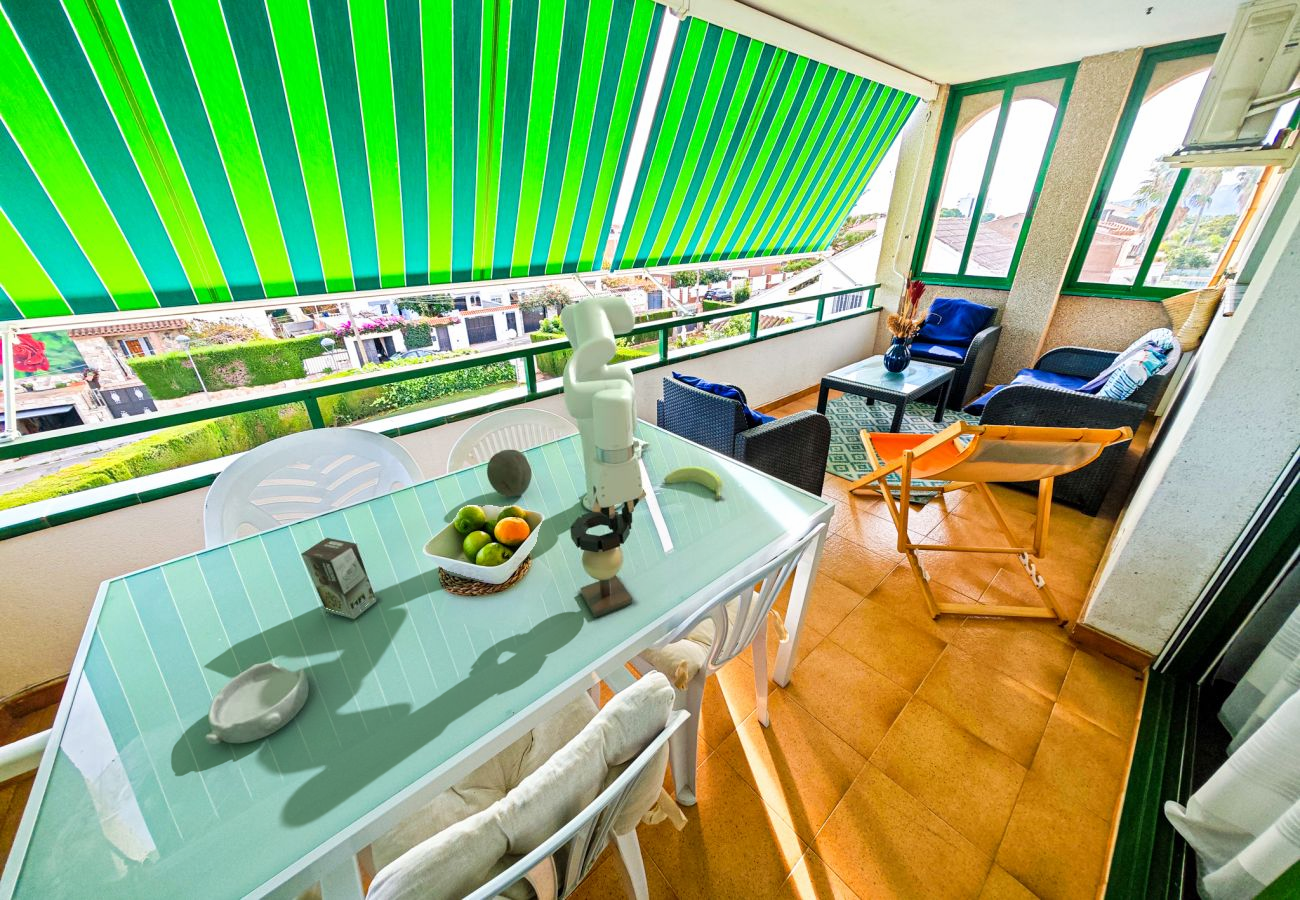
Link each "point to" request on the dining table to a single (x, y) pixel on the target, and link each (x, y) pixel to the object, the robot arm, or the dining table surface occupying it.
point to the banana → (696, 477)
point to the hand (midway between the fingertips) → (620, 527)
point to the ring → (595, 541)
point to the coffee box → (339, 577)
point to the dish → (256, 703)
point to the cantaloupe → (509, 473)
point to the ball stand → (604, 581)
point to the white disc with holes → (640, 447)
